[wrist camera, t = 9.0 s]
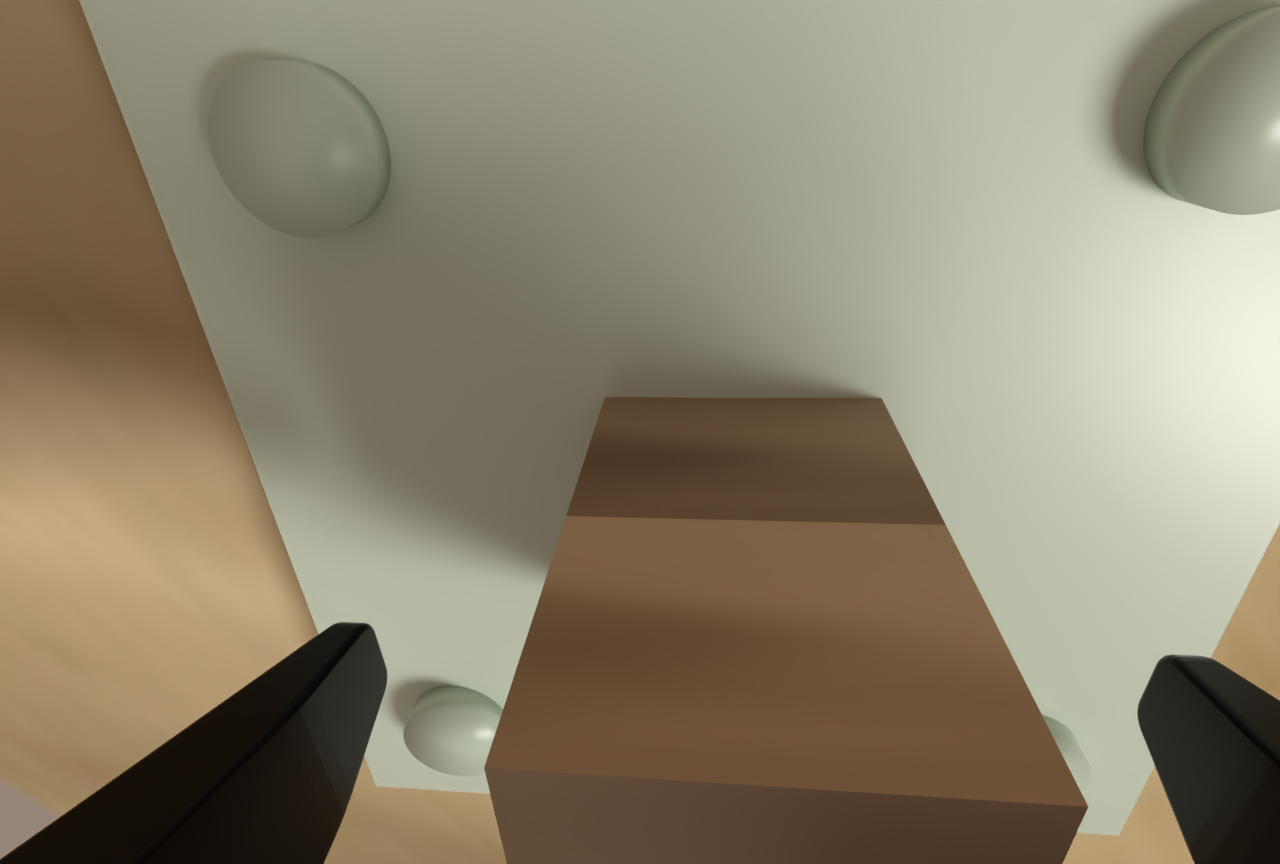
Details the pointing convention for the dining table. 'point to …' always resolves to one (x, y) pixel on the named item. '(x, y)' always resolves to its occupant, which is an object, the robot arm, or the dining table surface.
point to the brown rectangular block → (768, 659)
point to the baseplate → (734, 298)
